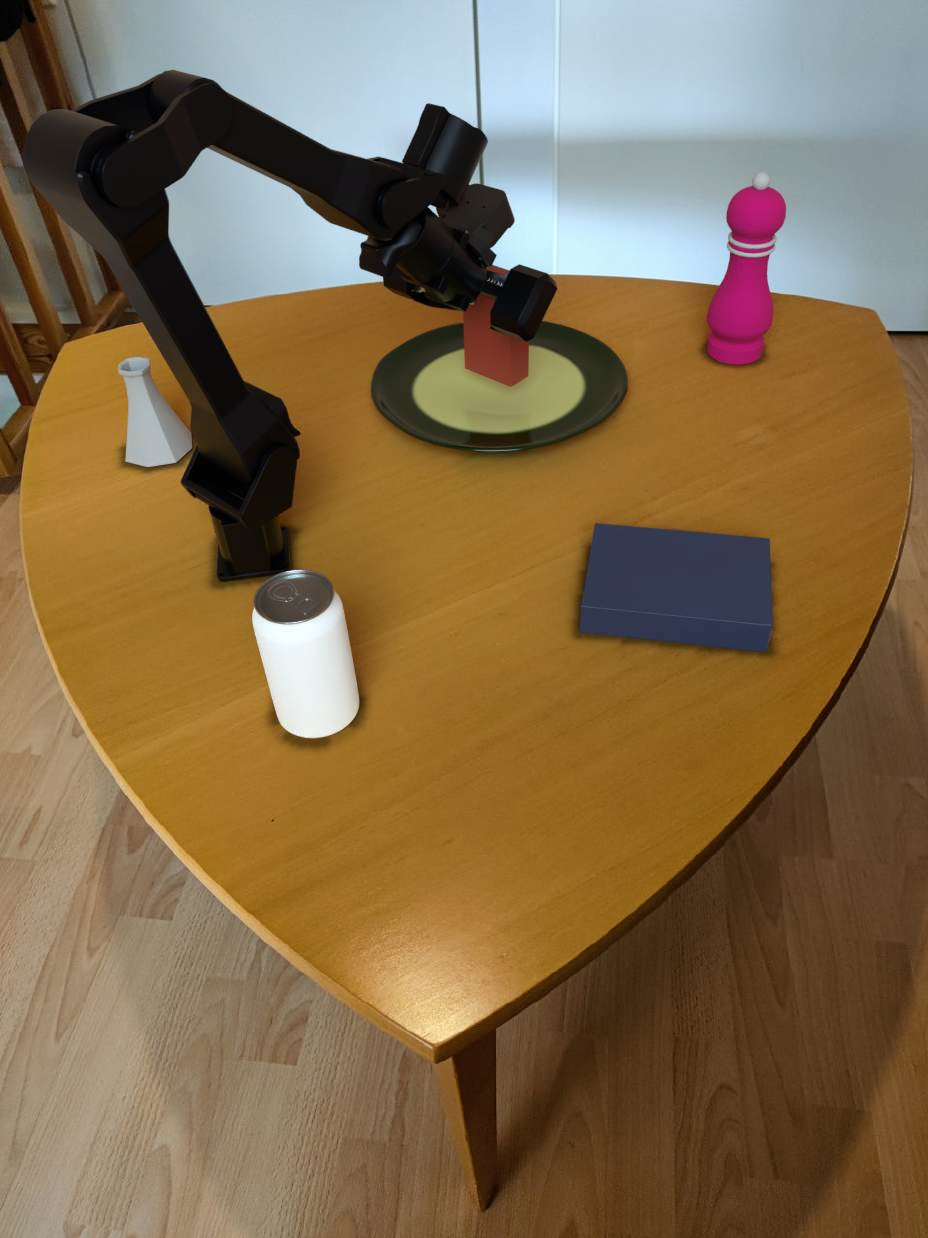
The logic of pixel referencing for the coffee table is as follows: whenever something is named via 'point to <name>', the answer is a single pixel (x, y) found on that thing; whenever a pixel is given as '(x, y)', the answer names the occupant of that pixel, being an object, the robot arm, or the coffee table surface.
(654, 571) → the navy hardcover
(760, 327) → the pepper mill
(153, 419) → the flask
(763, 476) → the coffee table surface
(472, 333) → the red rectangular block
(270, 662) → the can
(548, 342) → the plate
